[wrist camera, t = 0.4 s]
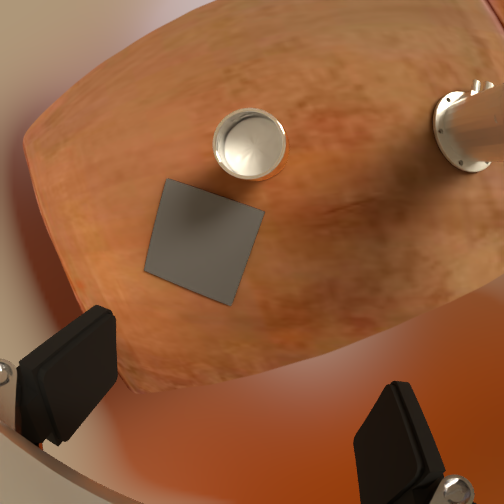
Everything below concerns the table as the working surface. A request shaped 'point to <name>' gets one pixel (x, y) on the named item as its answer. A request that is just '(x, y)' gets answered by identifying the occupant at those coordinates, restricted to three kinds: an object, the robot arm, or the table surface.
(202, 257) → the charcoal mat
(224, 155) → the beer glass
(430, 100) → the table surface
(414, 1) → the table surface
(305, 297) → the table surface
